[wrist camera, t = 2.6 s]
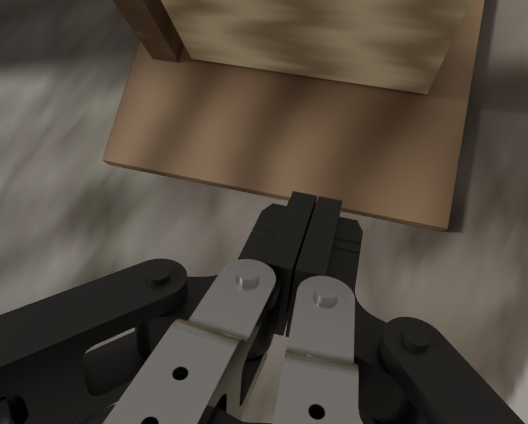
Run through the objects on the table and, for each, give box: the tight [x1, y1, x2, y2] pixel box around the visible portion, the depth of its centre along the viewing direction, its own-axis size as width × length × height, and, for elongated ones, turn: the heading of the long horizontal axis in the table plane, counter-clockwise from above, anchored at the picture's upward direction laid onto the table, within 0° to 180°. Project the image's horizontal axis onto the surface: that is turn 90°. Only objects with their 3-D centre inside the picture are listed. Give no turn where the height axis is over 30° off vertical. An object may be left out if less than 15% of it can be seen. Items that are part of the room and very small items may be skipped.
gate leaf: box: [161, 0, 471, 94], centre depth 24 cm, size 17×2×12 cm, turn 77°
